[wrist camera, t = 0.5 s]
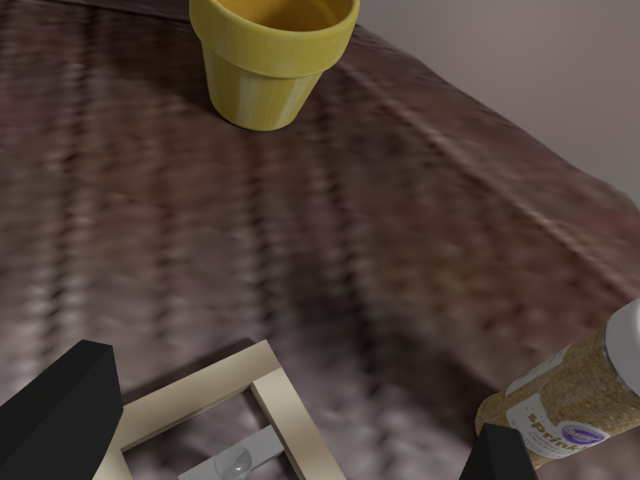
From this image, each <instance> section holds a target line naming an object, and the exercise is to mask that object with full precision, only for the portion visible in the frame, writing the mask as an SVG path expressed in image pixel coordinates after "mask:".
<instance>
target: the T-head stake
mask: <svg viewBox="0 0 640 480" xmlns="http://www.w3.org/2000/svg"><path fill="white" fill-rule="evenodd" d="M283 450H284V447H283V446H282V444H281V442H280V440H279V438H278V436H277V435H276V433H275V431H274V429H273V427H272V425H269V426H267V427H266V428H264V429H262V430H260V431H258V432H257V433H255V434H253V435H251V436H249V437H248V438H246V439H244V440H242V441H240V442H238V443H228V444H225V445H223V446H222V447H221V448H220V449H219V450H218V451H217V452H216V454H215V456H213V457H211V458H210V459H208V460H206V461H204V462H202V463H201V464H199V465H197V466H195V467H193V468H192V469H190V470H188V471H186V472H184V473H183V474H181V475H179V476H177V480H244V479H245V478H246V476H247V475H248V473H250V472H251V471H253V470H255V469H257V468H258V467H260V466H262V465H263V464H265V463H267V462H268V461H270V460H272V459H274V458H275V457H277V456H279V455H280V454H281V453H282V452H283Z"/></svg>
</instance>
